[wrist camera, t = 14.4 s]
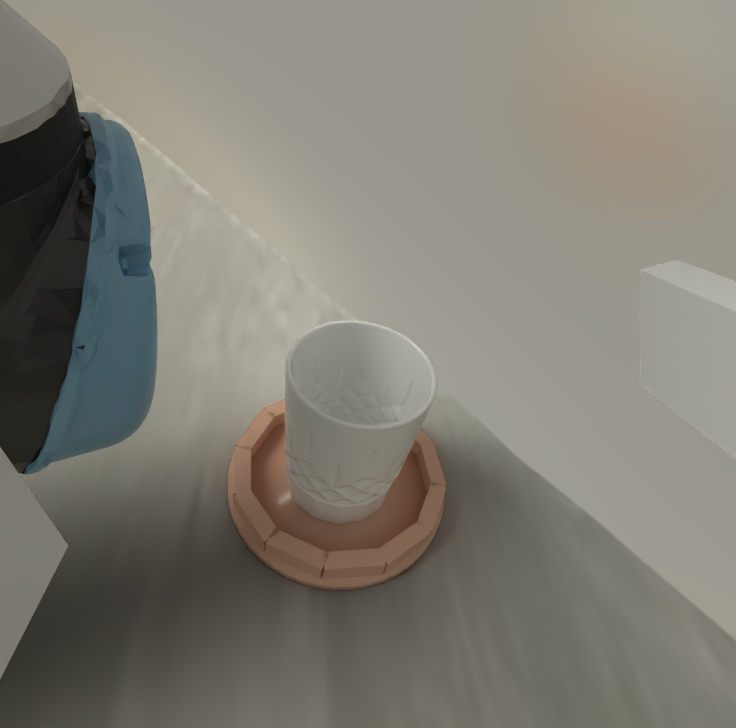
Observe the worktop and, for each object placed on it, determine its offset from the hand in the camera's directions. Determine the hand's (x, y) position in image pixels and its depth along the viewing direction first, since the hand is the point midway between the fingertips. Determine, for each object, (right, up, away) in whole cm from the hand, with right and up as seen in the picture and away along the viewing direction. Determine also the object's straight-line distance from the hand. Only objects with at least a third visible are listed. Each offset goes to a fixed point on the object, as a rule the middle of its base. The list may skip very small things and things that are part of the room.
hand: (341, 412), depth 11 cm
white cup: (-1, -7, +23) cm, 24 cm away
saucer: (-1, -7, +24) cm, 25 cm away
